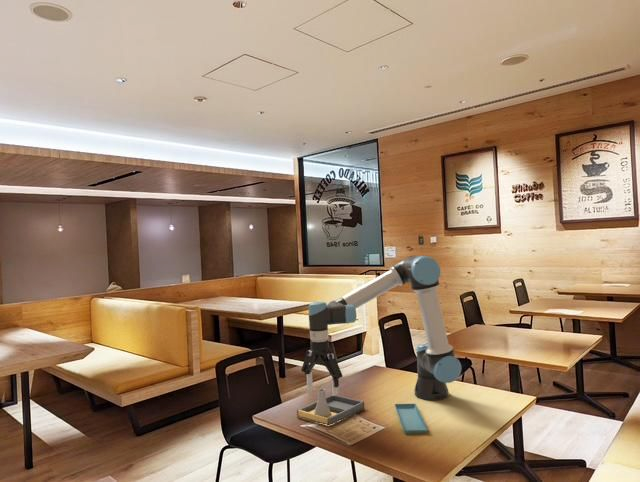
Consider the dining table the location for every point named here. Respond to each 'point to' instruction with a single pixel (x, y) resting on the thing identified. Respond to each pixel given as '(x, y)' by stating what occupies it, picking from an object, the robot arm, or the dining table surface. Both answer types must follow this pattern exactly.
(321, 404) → the flask
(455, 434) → the dining table surface
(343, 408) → the caddy
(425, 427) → the shallow long dish
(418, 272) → the robot arm
